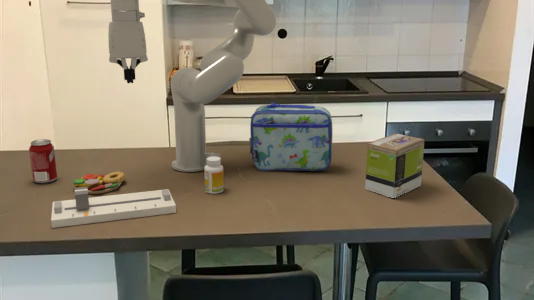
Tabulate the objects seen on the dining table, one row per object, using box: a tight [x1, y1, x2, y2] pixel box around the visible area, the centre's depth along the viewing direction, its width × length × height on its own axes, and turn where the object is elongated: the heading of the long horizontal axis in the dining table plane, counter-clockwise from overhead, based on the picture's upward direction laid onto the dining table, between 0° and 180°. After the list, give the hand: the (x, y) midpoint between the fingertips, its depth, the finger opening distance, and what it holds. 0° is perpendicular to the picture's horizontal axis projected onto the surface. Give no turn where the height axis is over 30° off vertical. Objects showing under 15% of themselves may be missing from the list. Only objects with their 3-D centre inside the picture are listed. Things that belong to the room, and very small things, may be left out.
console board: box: [50, 188, 177, 229], centre depth 139 cm, size 30×12×4 cm, turn 109°
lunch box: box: [249, 102, 333, 172], centre depth 170 cm, size 26×11×21 cm, turn 84°
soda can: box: [28, 138, 58, 184], centre depth 158 cm, size 7×7×12 cm
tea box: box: [364, 132, 425, 199], centre depth 155 cm, size 15×10×15 cm, turn 135°
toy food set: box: [72, 171, 126, 195], centre depth 155 cm, size 13×13×3 cm
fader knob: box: [74, 187, 89, 210], centre depth 136 cm, size 3×5×4 cm, turn 19°
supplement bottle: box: [203, 157, 225, 195], centre depth 152 cm, size 5×5×10 cm
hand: (130, 82), depth 155 cm, fingers closed
